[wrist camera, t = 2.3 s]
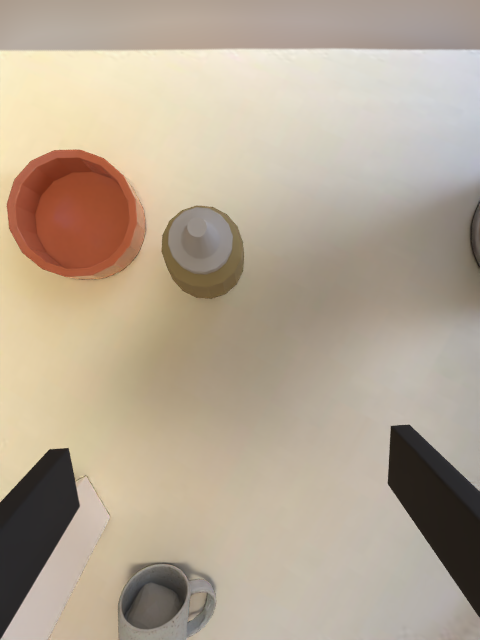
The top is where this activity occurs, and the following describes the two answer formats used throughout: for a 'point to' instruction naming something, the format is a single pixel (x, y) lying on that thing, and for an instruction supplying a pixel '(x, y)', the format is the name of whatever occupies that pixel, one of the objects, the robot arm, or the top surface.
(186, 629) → the ceramic mug
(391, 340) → the top surface
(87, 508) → the milk
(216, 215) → the squeeze bottle
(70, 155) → the holder
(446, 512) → the robot arm
